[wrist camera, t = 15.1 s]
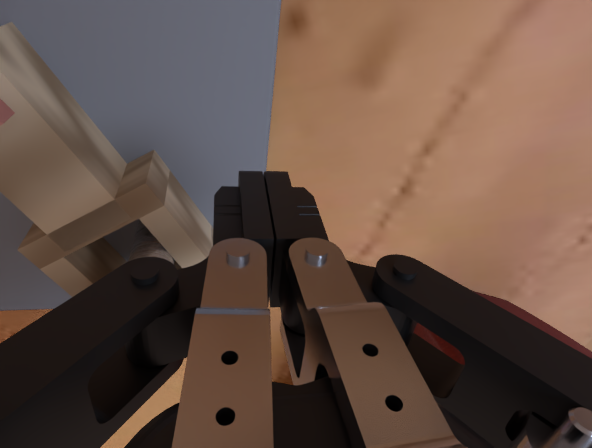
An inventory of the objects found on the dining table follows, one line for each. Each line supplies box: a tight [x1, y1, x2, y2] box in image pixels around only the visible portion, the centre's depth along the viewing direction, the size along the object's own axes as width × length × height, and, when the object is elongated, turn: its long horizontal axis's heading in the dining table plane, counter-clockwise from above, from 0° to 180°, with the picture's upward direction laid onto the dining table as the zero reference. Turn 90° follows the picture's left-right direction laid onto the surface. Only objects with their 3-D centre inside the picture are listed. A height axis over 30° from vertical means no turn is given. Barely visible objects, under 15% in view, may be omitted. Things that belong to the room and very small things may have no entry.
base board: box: [0, 0, 281, 311], centre depth 23 cm, size 17×28×1 cm, turn 173°
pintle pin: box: [128, 219, 175, 264], centre depth 23 cm, size 2×2×8 cm
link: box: [0, 22, 213, 297], centre depth 22 cm, size 16×8×4 cm, turn 25°
